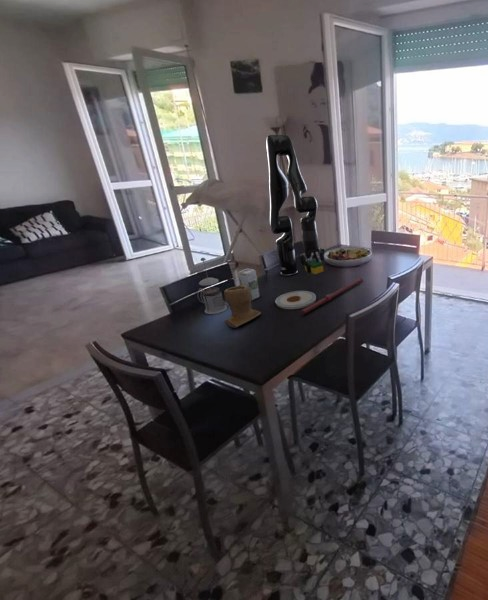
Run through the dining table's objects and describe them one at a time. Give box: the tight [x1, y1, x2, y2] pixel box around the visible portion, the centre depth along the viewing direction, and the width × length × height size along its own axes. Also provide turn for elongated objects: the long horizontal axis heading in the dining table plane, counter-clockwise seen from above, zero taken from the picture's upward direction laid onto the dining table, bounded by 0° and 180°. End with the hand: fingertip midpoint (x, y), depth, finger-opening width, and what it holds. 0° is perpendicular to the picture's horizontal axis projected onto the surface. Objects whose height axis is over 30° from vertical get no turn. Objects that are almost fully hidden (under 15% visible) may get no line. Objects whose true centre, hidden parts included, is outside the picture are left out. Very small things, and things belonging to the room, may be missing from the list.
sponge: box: [304, 259, 324, 275], centre depth 181 cm, size 8×6×4 cm
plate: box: [274, 290, 317, 310], centre depth 172 cm, size 19×19×1 cm
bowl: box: [324, 246, 373, 268], centre depth 225 cm, size 30×30×8 cm
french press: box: [197, 257, 228, 315], centre depth 159 cm, size 10×12×25 cm
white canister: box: [237, 268, 261, 302], centre depth 172 cm, size 6×6×14 cm
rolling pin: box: [300, 277, 364, 316], centre depth 174 cm, size 45×3×3 cm, turn 151°
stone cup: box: [223, 285, 262, 329], centre depth 151 cm, size 15×12×15 cm
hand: (314, 270), depth 182 cm, fingers closed on sponge, 5 cm apart
